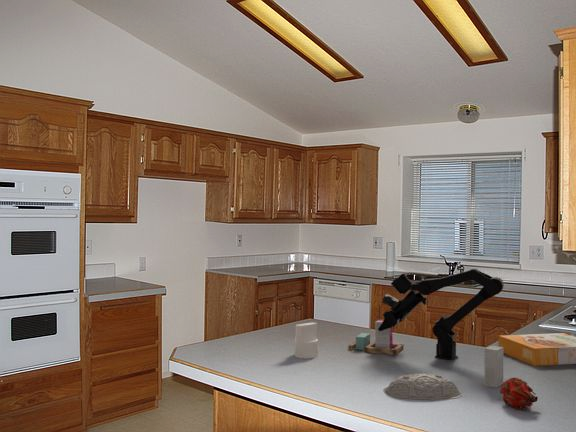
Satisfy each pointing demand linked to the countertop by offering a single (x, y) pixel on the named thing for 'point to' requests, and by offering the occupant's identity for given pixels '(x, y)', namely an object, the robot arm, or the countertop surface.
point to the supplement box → (383, 337)
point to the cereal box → (540, 348)
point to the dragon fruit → (517, 393)
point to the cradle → (372, 349)
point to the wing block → (362, 341)
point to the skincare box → (493, 366)
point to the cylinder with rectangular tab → (306, 340)
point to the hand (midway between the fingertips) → (381, 328)
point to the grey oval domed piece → (422, 387)
